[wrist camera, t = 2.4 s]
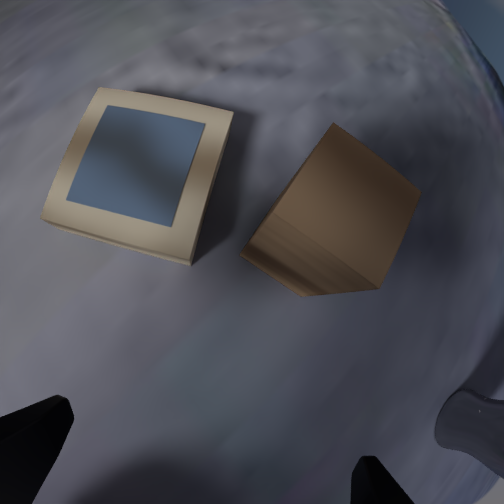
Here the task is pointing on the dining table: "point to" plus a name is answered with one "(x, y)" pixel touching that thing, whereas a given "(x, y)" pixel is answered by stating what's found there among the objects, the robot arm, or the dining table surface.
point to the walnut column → (335, 221)
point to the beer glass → (473, 428)
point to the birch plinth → (140, 173)
